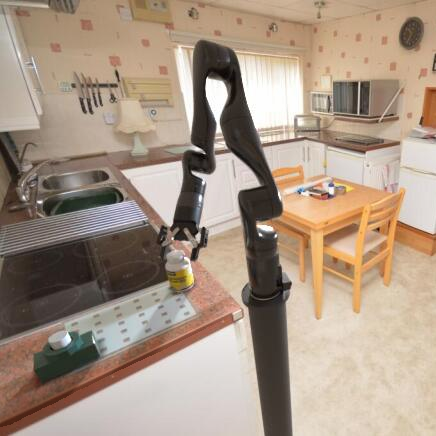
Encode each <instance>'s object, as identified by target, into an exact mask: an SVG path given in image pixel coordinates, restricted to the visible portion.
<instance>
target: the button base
mask: <svg viewBox="0 0 436 436" xmlns="http://www.w3.org/2000/svg"><path fill="white" fill-rule="evenodd" d="M67 332H68V334H69V336H70V338H71V340H72V341H71V343H70V344H69V345H68V346H66V347H64V348H62V349H60V350H53V349H52V347H51V345H50V344H49V342H48V341H47V342H46V343H44V346H42V350H40V351H37V352H35V353H33V363H32V364H33V368H32V369H33V372H34V374H35V375H36V377H37V378H38V380H39V381H40V383H41V384H44V383H46V382H48V381H50V380H52V379H54V378H57V377H59V376H62V375H64V374H66V373H68V372H70V371H72V370H74V369H77V368H78V367H81V366H83V365H86V364H87V363H89V362H91V361H94V360H96V359H98V358H101V351H100V347H99V342H98V340H97V338H96V336H95V334H94V332H93V330H92V329H91V330H89V331H86V332H84V333H81V334H80V333H79V332H76V331H67Z"/></svg>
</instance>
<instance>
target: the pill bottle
mask: <svg viewBox="0 0 436 436" xmlns="http://www.w3.org/2000/svg"><path fill="white" fill-rule="evenodd" d="M166 257H167V260H166V262H165V265H164V268H165V271H166V276H167V279H168V282H169V286H170V289H171V291H173V292H176V293H181V292H186V291H188V290H190V289H192V287H193V286H194V283H195V279H194V275H193V270H192V266H191V265H192V264H191V261H190V258H188V257H186V254H185V251H184V250H182V249H174V250H170V251H169V253H168V254H167V255H166Z"/></svg>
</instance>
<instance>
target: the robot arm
mask: <svg viewBox="0 0 436 436" xmlns="http://www.w3.org/2000/svg"><path fill="white" fill-rule="evenodd" d="M191 63H192V64H191V65H192V68H191V69H192V71H191V72H192V103H193V105H192V107H193V108H192V109H193V111H192V123H191V131H190V143H191V145H193V146H194V147H196V148H198V149H200V150H202V151H199V150H195V149H187V150H184V152H182V155H181V169H182V181H181V187H180V192H179V195H178V198H177V200H176V204H175V209H174V214H173V218H172V224H171V226H169V225H165V224H161V225H160V229H159V231H158V235H157V239H156V241H155V243H156V244H157V245H158V246H161V250H160V254H159V257H160V259H161V260H162V261H167V257H166V255H167V254H168V253H169V252H171V246H173V245H174V244H175V243H177V242H190V243H191V246H192V249H191V253H190V258H189V261H190V262H193V263H194V262H196V261H197V260H198V259H199V255H200V250H201V249H204V248H205V249H206V248H207V247H208V242H209V241H208V240H209V234H210V233H209V232H210V229H209V228H208V227H206V226H202V227H200V225H201V219H202V214H203V209H204V204H205V203H204V200H205V195H206V190H207V182H206V180H205V179H204V178H202V177H199V176H197V175H196V174H201V175H205V176H210V175H213V174H214V173H215V171H216V169H217V159H216V152H215V142H216V135H217V130H218V118H217V115H216V112H215V110H214V107H213V105H212V103H211V100H210V97H209V94H208V82H209V81H208V80H212V81H218V82H222V83H223V84H224V87H225V89H226V94H227V98H226V100H225V102H224V105H223V108H222V109H221V112H220V115H219V126H220V127H219V128H220V130H221V133H222V137H223V141H224V142H225V146H226V147H227V149H228V150H229V152H231V154H232V155H234V157H235V158H236V159H238V160H239V161H240V162H241V163H242V164H244V165H245V166H246V167H247V168H248V169H249V170H250V171H251V173H252V175H254V177H255V178H256V180H257V182H258V185H259V186H253V187H247V188H243V189H240V190H239V191H238V193H237V196H236V198H237V208H238V213H239V219H240V224H241V231H242V237H243V242H244V243H243V244H244V245H243V246H244V252H245V260H246V269H247V277H248V282H249V284H248V286H249V288H250V295H251V297H252V298H253V299H255V300H258V301H269V300H272V299H274V298H276V297H277V296H278V295H279V294H281V293H283V291H286V290H289V289H290V290H292V285H293V282H292V280H291V279H290V278H289V276H288V274H287V273H286V271H283V266H282V264H281V263H280V262H281V261H280V247H279V234H278V231H277V230H276V229H275V228H273V227H271V226H268V225H260V223H263V222H268V221H271V220H276V219H279V218H281V217H282V216H283V214H284V203H283V199H282V195H281V193H280V189H279V187H278V185H277V182H276V179H275V177H274V174H273V172H272V170H271V168H270V165H269V163H268V160H267V157H266V154H265V150H264V147H263V143H262V140H261V137H260V133H259V130H258V126H257V124H256V121H255V118H254V115H253V113H252V110H251V109H252V108H251V106H250V102H249V100H248V96H247V95H248V94H247V91H246V88H245V84H244V78H243V73H242V70H241V65H240V60H239V58H238V55H237V53H236V52H235V50H234V49H233V48H231V47H230V46H227V45H224V44H221V43H218V42H214V41H212V40H207V39H198V40H197V41H196V43H195V44H194V47H193V51H192V61H191ZM194 173H196V174H194ZM170 232H171V233H170ZM168 234H169V235H168ZM198 234H200V236H199V240H198V238H197V237H196V236H198Z"/></svg>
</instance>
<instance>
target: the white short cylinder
mask: <svg viewBox="0 0 436 436" xmlns="http://www.w3.org/2000/svg"><path fill="white" fill-rule="evenodd" d="M68 332H69V331H67V330H59V331H57V332H55V333H53V334H52V335H50V336H49V337H48V339H47V342H49V344H50V345H51V347H52V349H53V350H60V349H62V348H64V347H66V346H68V345H69V344H70V343H71V341H72V340H71V338H70V336H69V334H68Z"/></svg>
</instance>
